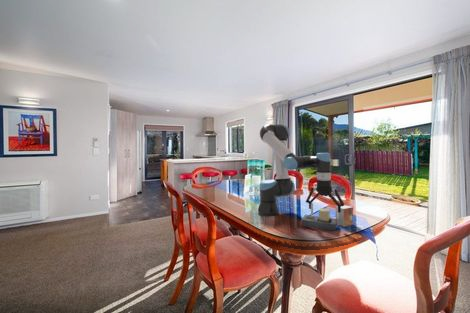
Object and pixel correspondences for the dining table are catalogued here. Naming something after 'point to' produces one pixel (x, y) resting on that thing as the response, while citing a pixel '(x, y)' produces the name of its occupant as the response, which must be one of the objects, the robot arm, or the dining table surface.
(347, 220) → the small box
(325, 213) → the beige square peg
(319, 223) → the grey square hole block
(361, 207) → the dining table surface
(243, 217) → the dining table surface
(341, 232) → the dining table surface
